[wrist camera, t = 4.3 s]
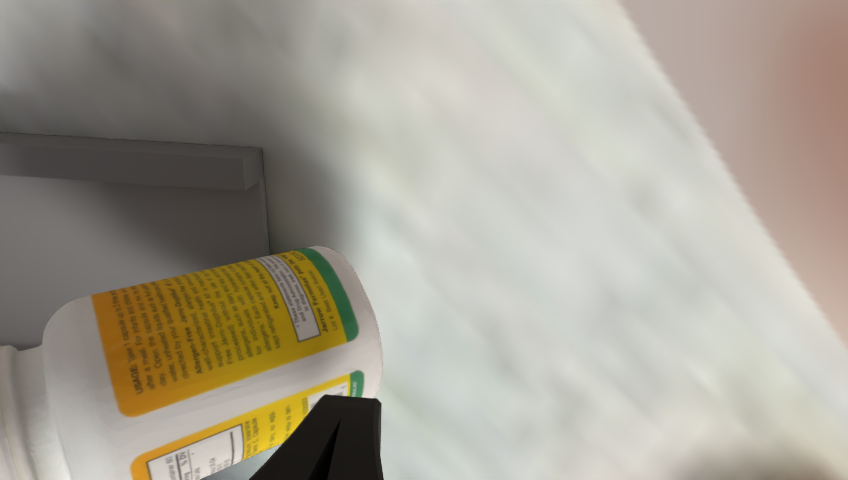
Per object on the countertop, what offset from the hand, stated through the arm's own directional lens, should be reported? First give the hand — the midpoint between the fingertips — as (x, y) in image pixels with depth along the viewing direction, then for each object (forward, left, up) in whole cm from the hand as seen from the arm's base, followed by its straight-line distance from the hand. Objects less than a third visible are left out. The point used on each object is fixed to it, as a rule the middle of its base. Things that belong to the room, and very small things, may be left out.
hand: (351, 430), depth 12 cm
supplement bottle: (0, +1, -5) cm, 5 cm away
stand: (0, +10, -7) cm, 12 cm away
